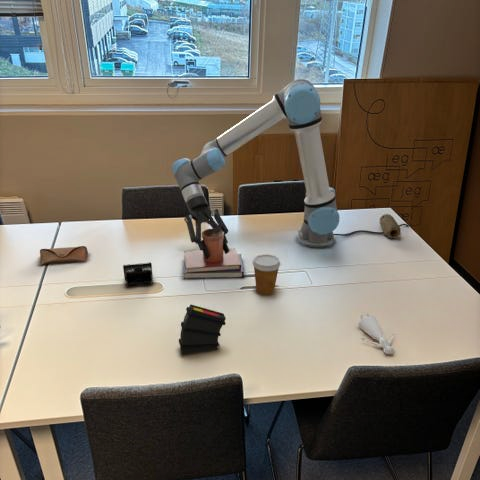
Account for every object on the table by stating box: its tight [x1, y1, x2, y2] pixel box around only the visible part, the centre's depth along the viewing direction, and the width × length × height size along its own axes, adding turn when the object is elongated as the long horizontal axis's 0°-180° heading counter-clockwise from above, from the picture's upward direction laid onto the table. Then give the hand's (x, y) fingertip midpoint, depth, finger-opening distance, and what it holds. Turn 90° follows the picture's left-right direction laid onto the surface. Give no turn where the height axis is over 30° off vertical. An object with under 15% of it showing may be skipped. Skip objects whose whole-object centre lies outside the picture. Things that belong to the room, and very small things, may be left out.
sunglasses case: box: [38, 245, 89, 266], centre depth 195 cm, size 18×7×7 cm, turn 104°
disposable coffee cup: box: [252, 254, 281, 296], centre depth 175 cm, size 10×10×12 cm
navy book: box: [182, 253, 245, 280], centre depth 190 cm, size 22×15×3 cm
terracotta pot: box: [201, 228, 224, 262], centre depth 186 cm, size 8×8×10 cm
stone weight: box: [379, 213, 402, 239], centre depth 220 cm, size 15×7×7 cm, turn 5°
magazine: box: [178, 303, 227, 356], centre depth 145 cm, size 4×13×15 cm, turn 106°
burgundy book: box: [183, 247, 241, 273], centre depth 189 cm, size 20×14×2 cm
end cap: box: [122, 261, 154, 289], centre depth 180 cm, size 10×7×7 cm
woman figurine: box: [358, 313, 396, 355], centre depth 153 cm, size 12×4×18 cm
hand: (217, 254), depth 185 cm, fingers closed on terracotta pot, 8 cm apart
